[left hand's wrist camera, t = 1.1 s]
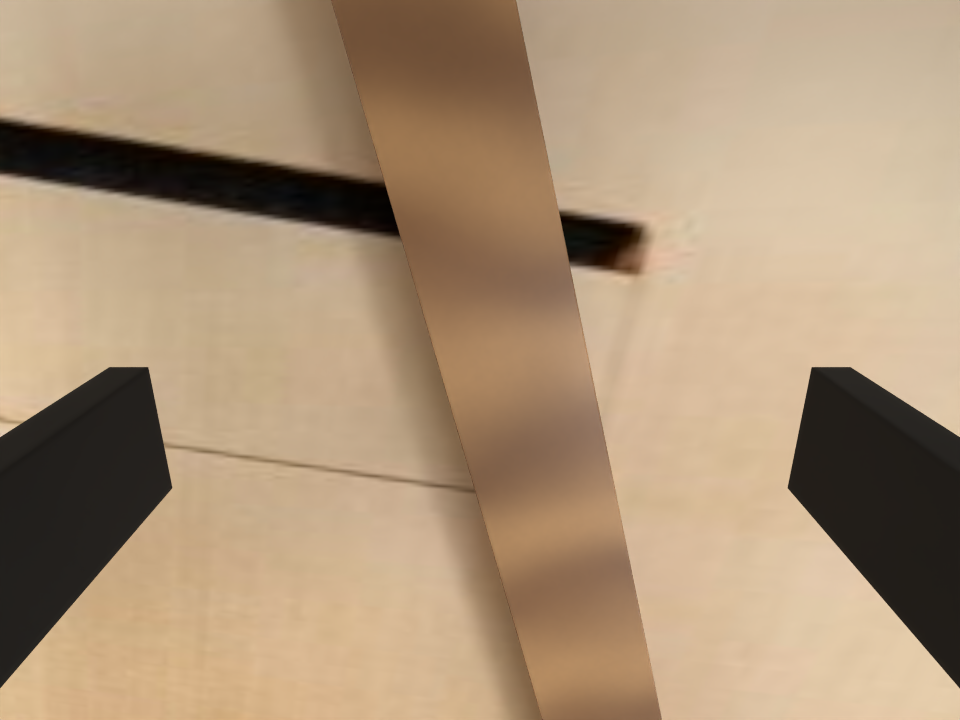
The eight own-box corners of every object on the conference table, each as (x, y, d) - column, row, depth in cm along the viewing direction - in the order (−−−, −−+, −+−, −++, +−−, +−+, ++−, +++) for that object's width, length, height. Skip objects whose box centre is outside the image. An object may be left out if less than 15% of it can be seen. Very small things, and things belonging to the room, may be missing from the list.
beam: (331, -105, 25) (270, -206, 18) (465, -146, 25) (461, -267, 17) (633, 977, 51) (660, 1123, 43) (701, 966, 50) (741, 1112, 43)
